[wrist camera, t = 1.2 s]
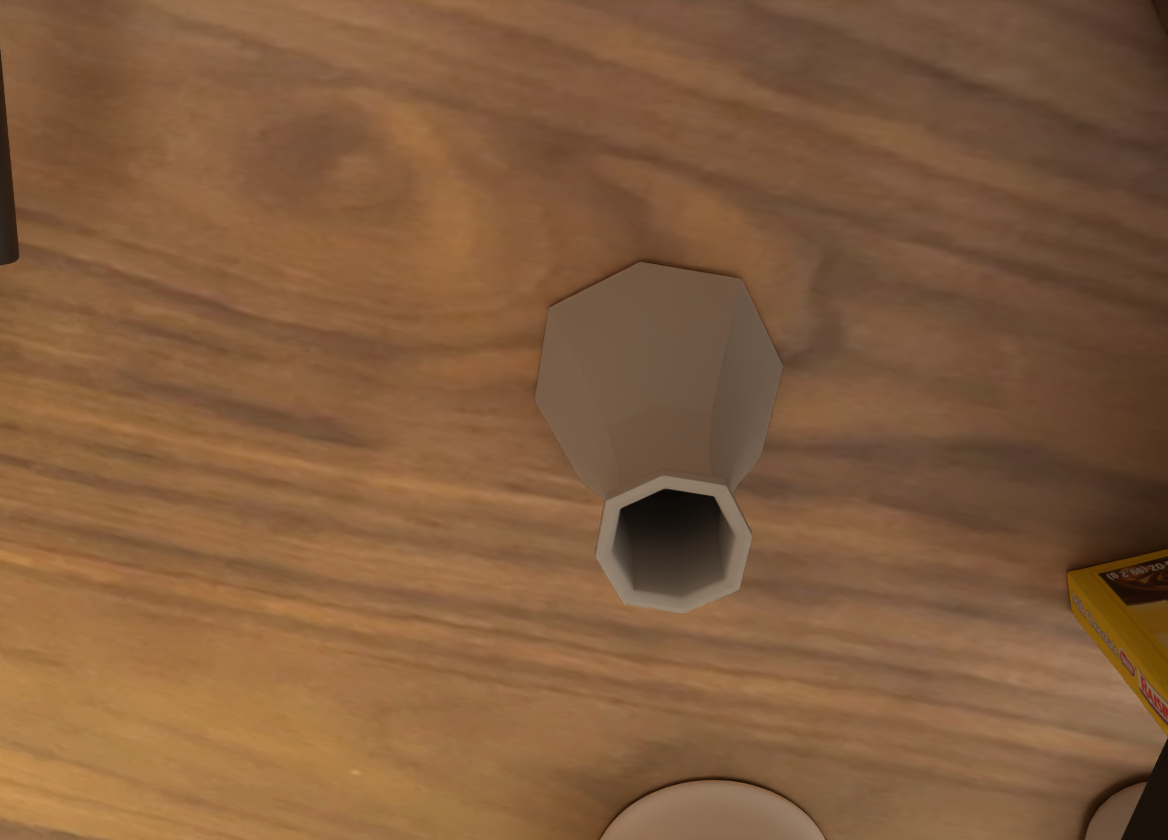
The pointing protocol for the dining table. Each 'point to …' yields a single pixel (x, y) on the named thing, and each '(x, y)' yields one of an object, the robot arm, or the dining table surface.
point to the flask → (662, 424)
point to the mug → (713, 815)
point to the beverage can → (1115, 814)
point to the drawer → (6, 190)
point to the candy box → (1129, 622)
